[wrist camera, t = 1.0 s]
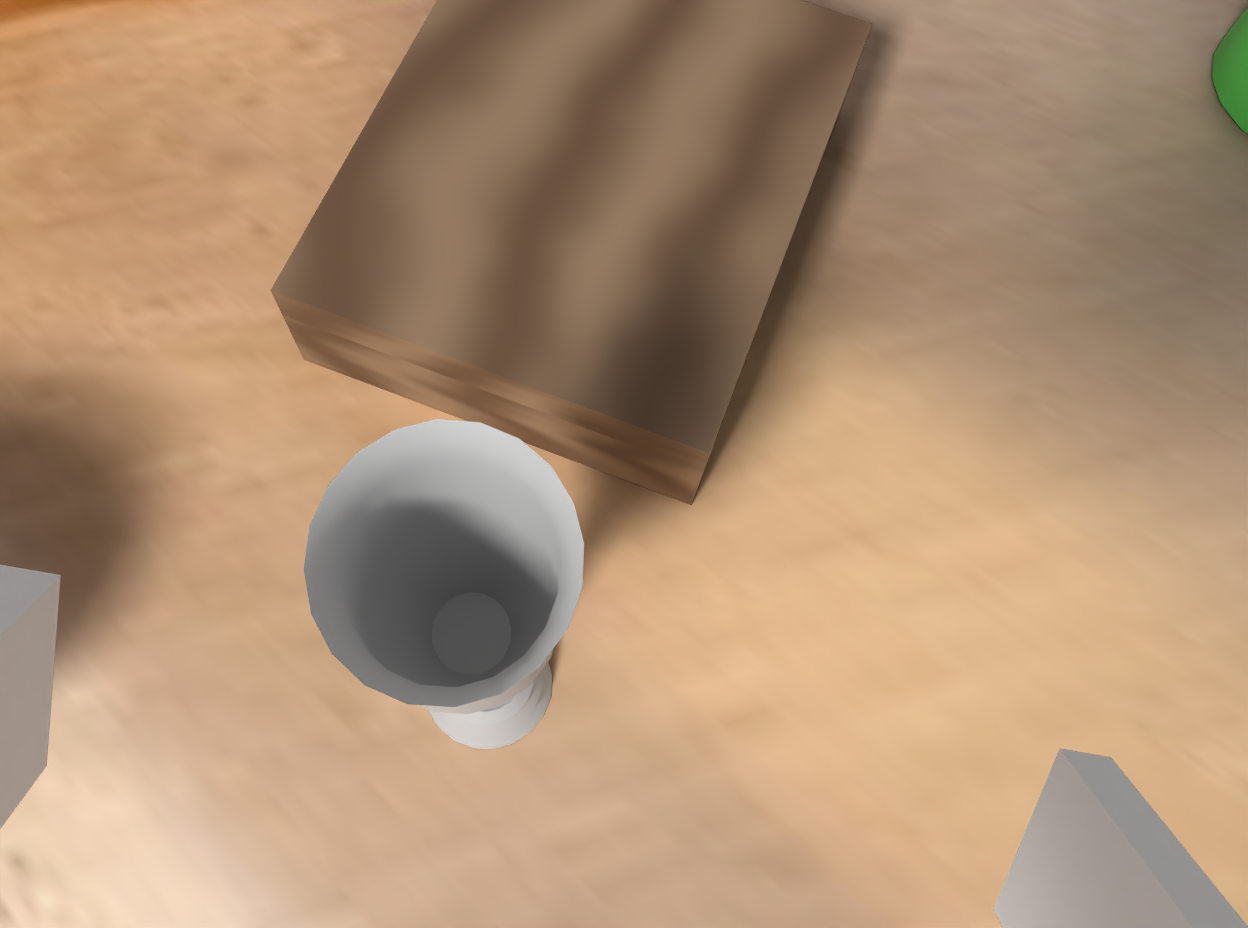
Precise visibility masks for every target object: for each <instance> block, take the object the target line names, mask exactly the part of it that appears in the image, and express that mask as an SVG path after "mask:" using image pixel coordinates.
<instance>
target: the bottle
mask: <svg viewBox="0 0 1248 928" xmlns="http://www.w3.org/2000/svg"><path fill="white" fill-rule="evenodd" d="M1212 80H1213V83H1214V85H1215V88H1216V91H1217V94H1218V97H1219V99H1220V102H1221V104H1222V105H1223V107H1224V108H1225V109H1226V110H1227V112H1228V113H1229V114H1230V116H1231V117H1232V118H1233V119H1234V121H1235V122H1236V123H1237V124H1238V126H1239V127H1240V128H1241V130H1243V131H1244V132H1245V133H1247V134H1248V7H1247V8H1246V9H1245V11H1244V12H1243V13H1242V15H1241V16H1240V17H1239V18H1238V20H1237V21H1236V22H1235V24H1234V25H1233V26H1232V28H1231V29H1230V30H1229V31H1228V33H1227V34H1226V35H1225V37H1224V38H1223V40H1222V42H1221V43H1220V45H1219V47H1218V48H1217V50H1216V52H1215V54H1214V56H1213V71H1212Z"/></svg>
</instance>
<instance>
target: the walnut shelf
mask: <svg viewBox="0 0 1248 928" xmlns="http://www.w3.org/2000/svg"><path fill="white" fill-rule="evenodd" d="M871 26H872V24H871V23H868V22H865V21H862V20H859V19H856V18H853V17H850V16H847V15H844V14H841V13H838V12H835V11H832V10H829V9H826V8H824V7H821V6H818V5H815V4H812V3H809V2H806V1H803V0H437V1H436V3H435V5H434V6H433V8H432V10H431V12H430V13H429V15H428V17H427V19H426V20H425V22H424V24H423V26H422V27H421V29H420V31H419V33H418V34H417V36H416V38H415V40H414V41H413V43H412V45H411V47H410V48H409V50H408V52H407V54H406V55H405V57H404V59H403V61H402V62H401V64H400V66H399V67H398V69H397V71H396V73H395V74H394V76H393V78H392V80H391V81H390V83H389V85H388V87H387V88H386V90H385V92H384V94H383V95H382V97H381V99H380V101H379V102H378V104H377V106H376V108H375V109H374V111H373V113H372V115H371V116H370V118H369V120H368V122H367V123H366V125H365V127H364V129H363V130H362V132H361V134H360V135H359V137H358V139H357V141H356V142H355V144H354V146H353V148H352V149H351V151H350V153H349V155H348V156H347V158H346V160H345V162H344V163H343V165H342V167H341V169H340V170H339V172H338V174H337V176H336V177H335V179H334V181H333V183H332V184H331V186H330V188H329V190H328V191H327V193H326V195H325V197H324V198H323V200H322V202H321V203H320V205H319V207H318V209H317V210H316V212H315V214H314V216H313V217H312V219H311V221H310V223H309V224H308V226H307V228H306V230H305V231H304V233H303V235H302V237H301V238H300V240H299V242H298V244H297V245H296V247H295V249H294V251H293V252H292V254H291V256H290V258H289V259H288V261H287V263H286V265H285V266H284V268H283V270H282V271H281V273H280V275H279V277H278V278H277V280H276V282H275V284H274V285H273V287H272V289H271V292H272V294H273V296H274V298H275V300H276V302H277V304H278V307H279V309H280V311H281V313H282V315H283V317H284V319H285V321H286V323H287V325H288V327H289V329H290V332H291V334H292V336H293V338H294V340H295V342H296V344H297V346H298V348H299V350H300V352H301V354H302V357H303V359H304V360H307V361H310V362H312V363H315V364H318V365H320V366H323V367H326V368H328V369H331V370H334V371H336V372H339V373H342V374H344V375H347V376H350V377H352V378H355V379H358V380H360V381H363V382H365V383H368V384H371V385H373V386H376V387H379V388H381V389H384V390H387V391H389V392H392V393H395V394H397V395H400V396H403V397H405V398H408V399H411V400H413V401H416V402H419V403H421V404H424V405H427V406H429V407H432V408H435V409H437V410H440V411H443V412H445V413H448V414H451V415H453V416H456V417H459V418H461V419H464V420H467V421H470V422H481V423H483V424H485V425H488V426H490V427H493V428H495V429H497V430H500V431H502V432H505V433H507V434H510V435H512V436H514V437H517V438H519V439H520V440H522V441H523V442H525V443H528V444H530V445H533V446H536V447H538V448H541V449H544V450H546V451H549V452H552V453H554V454H557V455H560V456H562V457H565V458H568V459H570V460H573V461H576V462H578V463H581V464H584V465H586V466H589V467H592V468H594V469H597V470H600V471H602V472H605V473H608V474H610V475H613V476H616V477H618V478H621V479H623V480H626V481H629V482H631V483H634V484H637V485H639V486H642V487H645V488H647V489H650V490H653V491H655V492H658V493H661V494H663V495H666V496H669V497H671V498H674V499H677V500H679V501H682V502H685V503H687V504H690V505H692V502H693V500H694V497H695V495H696V492H697V489H698V487H699V484H700V481H701V479H702V476H703V473H704V471H705V468H706V465H707V463H708V460H709V457H710V454H711V451H712V448H713V446H714V443H715V440H716V437H717V434H718V431H719V429H720V426H721V423H722V421H723V418H724V415H725V413H726V410H727V407H728V405H729V402H730V399H731V397H732V394H733V392H734V389H735V386H736V384H737V381H738V378H739V376H740V373H741V370H742V368H743V365H744V363H745V360H746V357H747V355H748V352H749V349H750V347H751V344H752V341H753V339H754V336H755V333H756V331H757V328H758V326H759V323H760V320H761V318H762V315H763V312H764V310H765V307H766V304H767V302H768V299H769V297H770V294H771V291H772V289H773V286H774V283H775V281H776V278H777V275H778V273H779V270H780V267H781V265H782V262H783V260H784V257H785V254H786V252H787V249H788V246H789V244H790V241H791V238H792V236H793V233H794V231H795V228H796V225H797V223H798V220H799V217H800V215H801V212H802V209H803V207H804V204H805V201H806V199H807V196H808V194H809V191H810V188H811V186H812V183H813V180H814V178H815V175H816V172H817V170H818V167H819V164H820V162H821V159H822V157H823V154H824V151H825V149H826V146H827V143H829V140H830V138H831V135H832V132H833V130H834V127H835V124H836V122H837V119H838V117H839V114H840V111H841V108H842V106H843V103H844V100H845V98H846V95H847V92H848V89H849V87H850V84H851V81H852V78H853V76H854V73H855V70H856V67H857V65H858V62H859V59H860V56H861V54H862V51H863V48H864V45H865V43H866V40H867V37H868V34H869V32H870V29H871Z"/></svg>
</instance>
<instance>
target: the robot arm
mask: <svg viewBox="0 0 1248 928" xmlns="http://www.w3.org/2000/svg"><path fill="white" fill-rule="evenodd" d="M60 579H61V575H58V574H52V573H47V572H41V571H35V570H29V569H24V568H18V567H12V566H6V565H0V829H1V827H2V826H3V825H4V823H5V822H6V820H7V819H8V818H9V816H10V815H11V814H12V812H13V811H14V810H15V808H16V807H17V805H18V804H19V803H20V801H21V800H22V799H23V797H24V796H25V795H26V793H27V792H28V790H29V789H30V788H31V786H32V785H33V784H34V782H35V781H36V779H37V778H38V777H39V775H40V774H41V773H42V771H43V770H44V769H45V767H46V766H47V754H48V741H49V727H50V714H51V700H52V687H53V673H54V660H55V646H56V633H57V619H58V606H59V592H60ZM993 910H994V912H995V914H996V916H997V918H998V920H999V922H1000V924H1001V925H1002V927H1003V928H1248V926H1247V925H1246V924H1245V922H1244V921H1243V920H1242V919H1241V917H1240V916H1239V915H1238V914H1237V912H1236V911H1235V910H1234V909H1233V907H1232V906H1231V905H1230V904H1229V903H1228V901H1227V900H1226V899H1225V898H1224V896H1223V895H1222V894H1221V893H1220V891H1219V890H1218V889H1217V888H1216V886H1215V885H1214V884H1213V883H1212V882H1211V880H1210V879H1209V878H1208V877H1207V875H1206V874H1205V873H1204V872H1203V870H1202V869H1201V868H1200V867H1199V865H1198V864H1197V863H1196V862H1195V860H1194V859H1193V858H1192V857H1191V856H1190V854H1189V853H1188V852H1187V851H1186V849H1185V848H1184V847H1183V846H1182V844H1181V843H1180V842H1179V841H1178V839H1177V838H1176V837H1175V836H1174V835H1173V833H1172V832H1171V831H1170V830H1169V828H1168V827H1167V826H1166V825H1165V823H1164V822H1163V821H1162V820H1161V818H1160V817H1159V816H1158V815H1157V813H1156V812H1155V811H1154V810H1153V809H1152V807H1151V806H1150V805H1149V804H1148V802H1147V801H1146V800H1145V799H1144V797H1143V796H1142V795H1141V794H1140V792H1139V791H1138V790H1137V789H1136V788H1135V786H1134V785H1133V784H1132V783H1131V781H1130V780H1129V779H1128V778H1127V776H1126V775H1125V774H1124V773H1123V771H1122V770H1121V769H1120V768H1119V766H1118V765H1117V764H1116V763H1115V762H1114V760H1113V759H1112V758H1111V757H1106V756H1100V755H1095V754H1089V753H1083V752H1077V751H1072V750H1066V749H1059V751H1058V754H1057V756H1056V759H1055V761H1054V763H1053V766H1052V768H1051V771H1050V773H1049V776H1048V778H1047V780H1046V783H1045V785H1044V788H1043V790H1042V793H1041V795H1040V797H1039V800H1038V802H1037V805H1036V807H1035V810H1034V812H1033V814H1032V817H1031V819H1030V822H1029V824H1028V827H1027V829H1026V831H1025V834H1024V836H1023V839H1022V841H1021V844H1020V846H1019V848H1018V851H1017V853H1016V856H1015V858H1014V861H1013V863H1012V865H1011V868H1010V870H1009V873H1008V875H1007V878H1006V880H1005V882H1004V885H1003V887H1002V890H1001V892H1000V895H999V897H998V900H997V902H996V904H995V907H994V909H993Z"/></svg>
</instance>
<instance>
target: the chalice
mask: <svg viewBox="0 0 1248 928" xmlns="http://www.w3.org/2000/svg"><path fill="white" fill-rule="evenodd" d="M583 559H584V541H583V537H582V533H581V529H580V525H579V522H578V518H577V514H576V510H575V506H574V502H573V500H572V499H571V497H570V496H569V494H568V492H567V491H566V489H565V487H564V486H563V484H562V483H561V481H560V479H559V478H558V476H557V474H556V473H555V471H554V470H553V468H552V466H551V465H550V464H548V463H547V462H546V461H545V460H544V459H543V458H541V457H540V456H539V455H538V454H537V453H536V452H534V451H533V450H532V449H531V448H530V447H529V446H527V445H526V444H525V443H524V442H523V441H522V440H520V439H519V438H517V437H514V436H512V435H510V434H507V433H505V432H502V431H500V430H497V429H495V428H493V427H490V426H488V425H485V424H483V423H481V422H470V421H456V420H443V419H435V420H431V421H427V422H423V423H419V424H415V425H411V426H407V427H403V428H399V429H395V430H393V431H392V432H390V433H388V434H387V435H385V436H383V437H382V438H380V439H378V440H377V441H375V442H373V443H372V444H370V445H369V446H367V447H365V448H364V449H362V450H360V451H359V452H357V453H356V454H355V456H354V457H353V458H352V459H351V460H350V461H349V462H348V464H347V465H346V466H345V467H344V468H343V469H342V470H341V471H340V473H339V474H338V475H337V476H336V477H335V478H334V479H333V481H332V482H331V483H330V484H329V485H328V487H327V489H326V491H325V494H324V496H323V498H322V500H321V502H320V504H319V507H318V509H317V511H316V513H315V515H314V518H313V520H312V522H311V524H310V528H309V535H308V543H307V550H306V558H305V565H304V573H305V579H306V585H307V591H308V597H309V603H310V609H311V614H312V616H313V618H314V620H315V622H316V624H317V626H318V628H319V630H320V632H321V633H322V635H323V637H324V639H325V641H326V643H327V645H328V647H329V649H330V651H331V653H332V654H333V655H334V656H335V657H336V658H337V659H338V660H339V661H340V662H341V663H342V664H343V665H344V666H345V667H346V668H348V669H349V670H350V671H351V672H352V673H353V674H354V675H355V676H356V677H357V678H358V679H359V680H360V681H361V682H362V683H363V684H364V685H366V686H368V687H370V688H372V689H375V690H377V691H379V692H381V693H384V694H386V695H388V696H390V697H393V698H395V699H397V700H400V701H402V702H404V703H406V704H414V705H420V706H422V707H424V708H427V709H428V710H429V712H430V714H431V715H432V717H433V719H434V721H435V722H436V724H437V726H438V727H439V728H440V729H441V730H442V731H443V732H445V733H446V734H447V735H448V736H449V737H450V738H452V739H453V740H454V741H456V742H459V743H461V744H464V745H466V746H469V747H471V748H483V749H495V748H499V747H502V746H506V745H510V744H513V743H515V742H516V741H518V740H519V739H521V738H522V737H524V736H525V735H527V734H528V733H530V732H531V731H532V730H533V728H534V727H535V726H536V725H537V723H538V722H539V721H540V720H541V719H542V717H543V716H544V714H545V711H546V709H547V706H548V703H549V701H550V698H551V690H552V673H551V669H550V665H549V659H550V658H551V655H552V652H553V650H554V647H555V646H556V644H557V643H558V642H559V640H560V639H561V638H562V636H563V635H564V634H565V632H566V631H567V629H568V626H569V624H570V621H571V618H572V615H573V612H574V609H575V607H576V604H577V601H578V598H579V595H580V592H581V590H582V582H583Z"/></svg>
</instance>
